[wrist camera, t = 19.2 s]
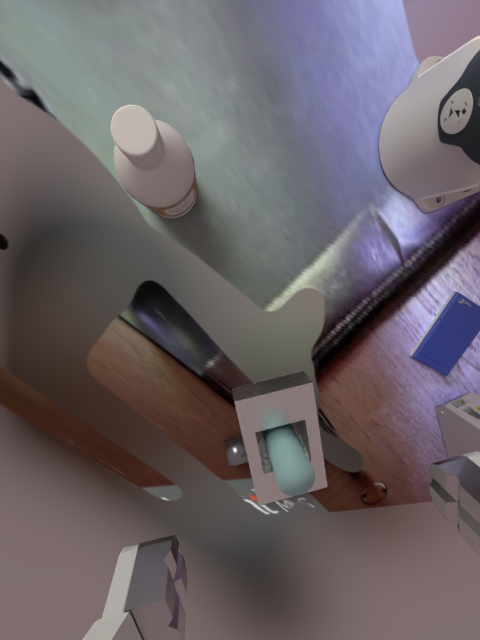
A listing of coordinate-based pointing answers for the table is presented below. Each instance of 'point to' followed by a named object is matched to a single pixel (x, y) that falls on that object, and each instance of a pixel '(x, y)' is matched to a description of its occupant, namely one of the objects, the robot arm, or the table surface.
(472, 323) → the hard drive
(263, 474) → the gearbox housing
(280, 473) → the toggle switch lever
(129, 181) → the bath foam
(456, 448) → the game console
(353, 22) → the table surface
